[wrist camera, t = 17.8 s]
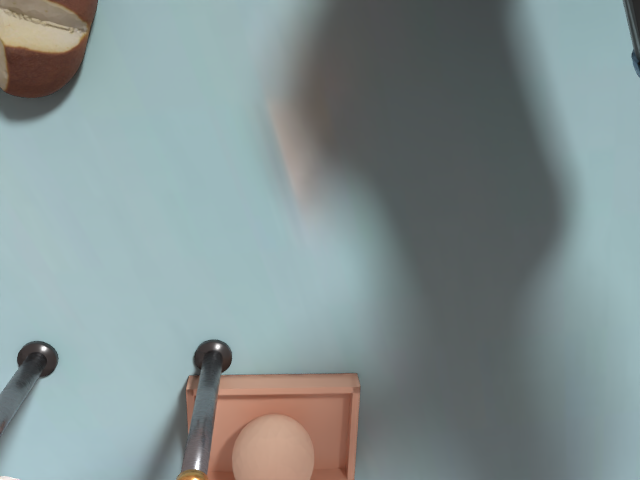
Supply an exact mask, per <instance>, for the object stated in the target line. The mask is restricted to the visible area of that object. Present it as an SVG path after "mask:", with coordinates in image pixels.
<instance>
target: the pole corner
mask: <svg viewBox="0 0 640 480" xmlns="http://www.w3.org/2000/svg"><path fill="white" fill-rule="evenodd" d="M231 361H232V352H231V349H230V347H229V346H228V345H227V344H226V343H224V342H222V341H219V340H208V341H205V342H203V343H202V344H200V345H199V347H198V348H197V350H196V354H195V363H196V365H197V367H198V368H199V369H200V370H201V373H200V378H199V383H198V388H197V393H196V398H195V404H194V409H193V414H192V419H191V424H190V429H189V434H188V439H187V444H186V449H185V454H184V460H183V465H182V470H181V473H180V474H179V475H178V477H177V479H176V480H209V478H208V477H207V472H208V465H209V458H210V451H211V443H212V436H213V429H214V422H215V414H216V407H217V400H218V393H219V386H220V378H221V373H222V372H224V371H226V370H227V369H228V368H229V366H230V364H231Z"/></svg>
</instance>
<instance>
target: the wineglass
mask: <svg viewBox="0 0 640 480" xmlns="http://www.w3.org/2000/svg"><path fill="white" fill-rule="evenodd" d="M0 480H20V479H16V478H11V477H7V476H0Z"/></svg>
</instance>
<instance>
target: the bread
mask: <svg viewBox="0 0 640 480" xmlns="http://www.w3.org/2000/svg"><path fill="white" fill-rule="evenodd" d="M97 3H98V0H0V87H1V89H2V90H3V91H4V92H6V93H8V94H11V95H14V96H19V97H26V98H37V97H43V96H47V95H50V94H52V93H54V92H56V91H58V90H59V89H61V88H62V87H63V86H64V85H65V84H67V83H68V82H69V81H70V80H71V78H72V77H73V76H74V75H75V73H76V72H77V70H78V68H79V66H80V64H81V62H82V60H83V57H84V54H85V50H86V45H87V40H88V36H89V32H90V28H91V24H92V22H93V19H94V16H95V12H96V8H97Z"/></svg>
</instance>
